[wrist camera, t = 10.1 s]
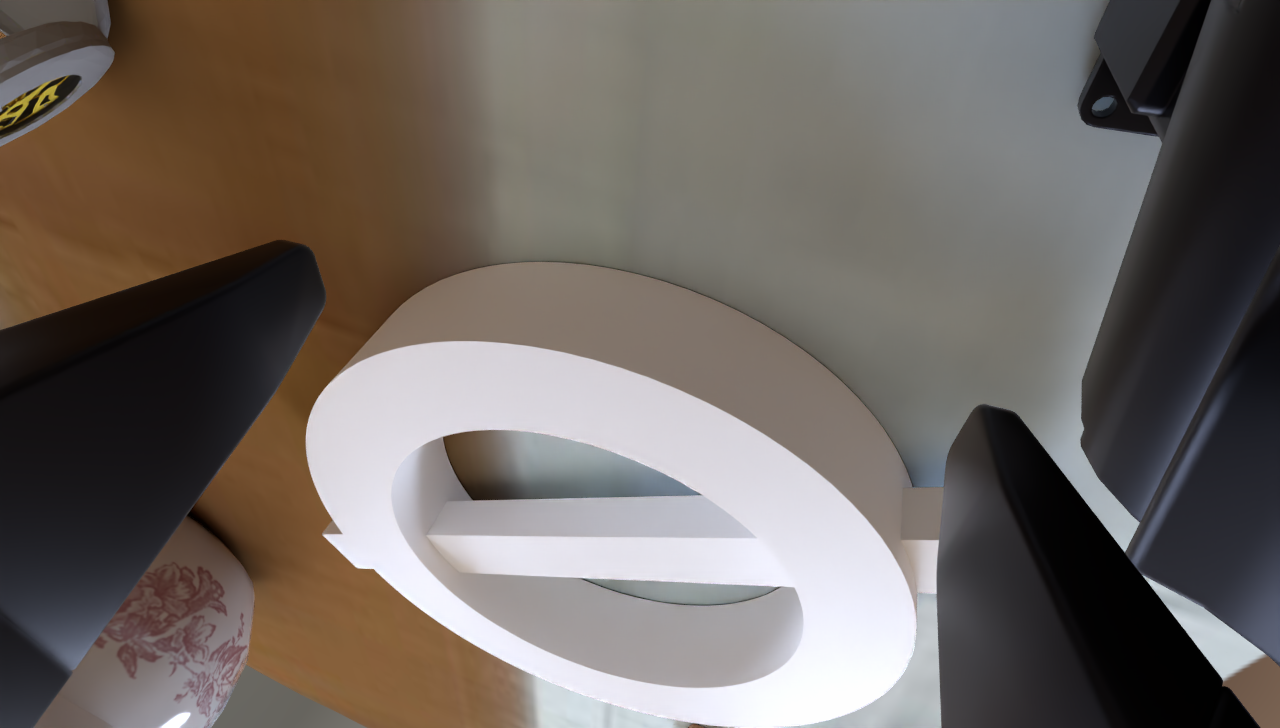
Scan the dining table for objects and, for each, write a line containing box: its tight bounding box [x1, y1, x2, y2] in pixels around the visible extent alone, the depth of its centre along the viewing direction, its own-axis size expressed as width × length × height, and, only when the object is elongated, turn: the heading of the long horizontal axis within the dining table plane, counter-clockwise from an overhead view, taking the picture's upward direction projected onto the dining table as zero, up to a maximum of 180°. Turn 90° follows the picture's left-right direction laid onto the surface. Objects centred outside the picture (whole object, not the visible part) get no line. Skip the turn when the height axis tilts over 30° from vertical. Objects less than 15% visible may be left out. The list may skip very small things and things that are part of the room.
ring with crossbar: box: [306, 262, 944, 728], centre depth 33 cm, size 28×28×5 cm
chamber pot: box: [34, 514, 255, 728], centre depth 51 cm, size 28×28×21 cm
